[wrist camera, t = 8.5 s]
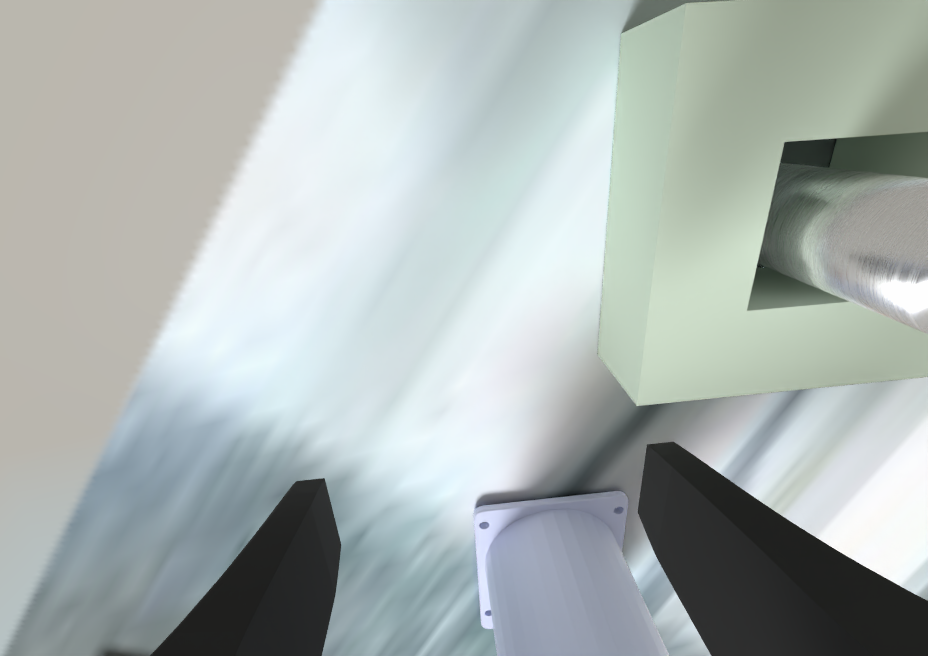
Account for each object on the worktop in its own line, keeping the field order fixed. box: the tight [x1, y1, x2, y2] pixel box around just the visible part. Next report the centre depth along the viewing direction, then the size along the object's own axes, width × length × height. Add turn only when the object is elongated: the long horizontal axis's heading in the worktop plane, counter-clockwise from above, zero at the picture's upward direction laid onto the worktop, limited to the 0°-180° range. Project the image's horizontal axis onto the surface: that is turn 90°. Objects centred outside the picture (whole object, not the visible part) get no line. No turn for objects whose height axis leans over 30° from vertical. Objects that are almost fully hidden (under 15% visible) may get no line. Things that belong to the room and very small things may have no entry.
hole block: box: [597, 0, 928, 406], centre depth 16 cm, size 12×12×4 cm
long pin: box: [757, 163, 928, 334], centre depth 14 cm, size 4×4×8 cm
